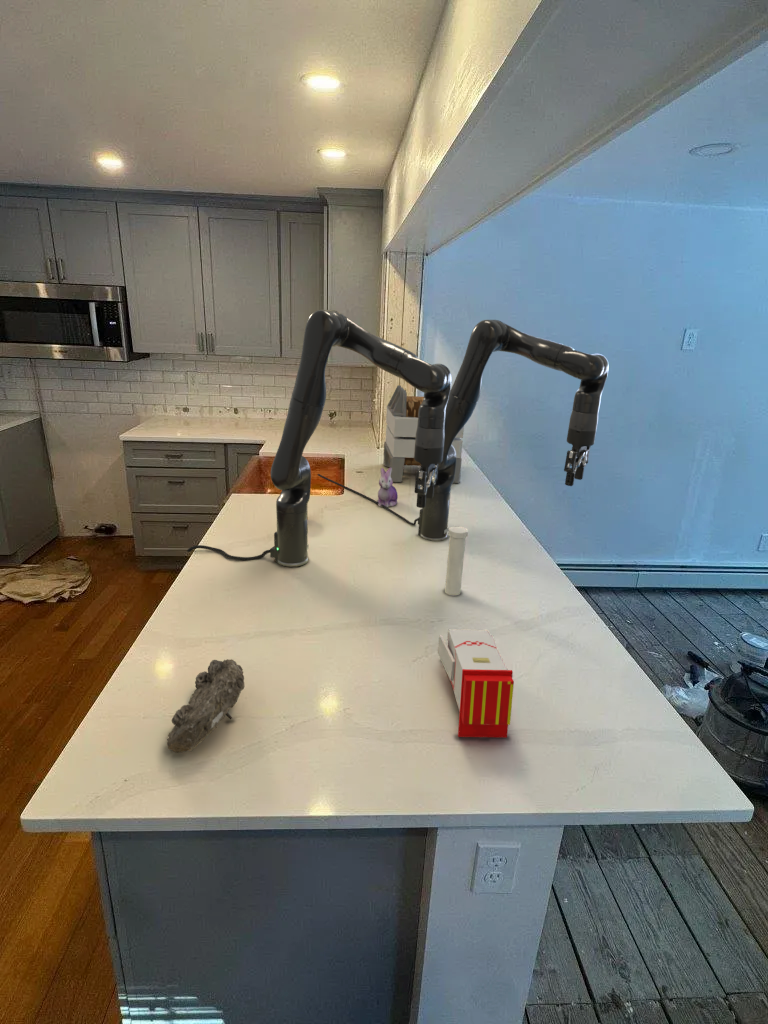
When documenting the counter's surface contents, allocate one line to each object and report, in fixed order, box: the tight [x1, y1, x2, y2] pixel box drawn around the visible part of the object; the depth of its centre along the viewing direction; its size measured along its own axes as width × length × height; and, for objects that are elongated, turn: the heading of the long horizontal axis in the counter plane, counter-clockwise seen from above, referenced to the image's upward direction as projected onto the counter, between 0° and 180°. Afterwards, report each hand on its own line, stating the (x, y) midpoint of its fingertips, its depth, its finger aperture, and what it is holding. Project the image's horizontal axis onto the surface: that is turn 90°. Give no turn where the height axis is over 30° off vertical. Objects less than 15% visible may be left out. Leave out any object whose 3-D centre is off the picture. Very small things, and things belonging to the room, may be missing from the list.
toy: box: [437, 628, 515, 738], centre depth 117 cm, size 12×13×30 cm
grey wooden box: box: [383, 384, 465, 484], centre depth 268 cm, size 34×33×41 cm
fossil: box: [166, 658, 245, 754], centre depth 106 cm, size 22×10×15 cm
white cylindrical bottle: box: [444, 536, 467, 597], centre depth 157 cm, size 4×4×19 cm
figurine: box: [377, 467, 399, 508], centre depth 227 cm, size 9×10×15 cm
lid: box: [448, 525, 469, 539], centre depth 154 cm, size 5×5×2 cm
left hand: (424, 502), depth 152 cm, fingers open, 8 cm apart
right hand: (573, 482), depth 165 cm, fingers open, 8 cm apart
